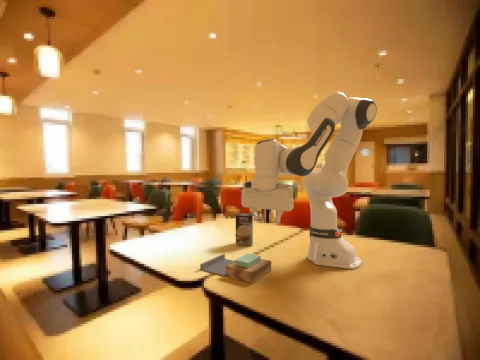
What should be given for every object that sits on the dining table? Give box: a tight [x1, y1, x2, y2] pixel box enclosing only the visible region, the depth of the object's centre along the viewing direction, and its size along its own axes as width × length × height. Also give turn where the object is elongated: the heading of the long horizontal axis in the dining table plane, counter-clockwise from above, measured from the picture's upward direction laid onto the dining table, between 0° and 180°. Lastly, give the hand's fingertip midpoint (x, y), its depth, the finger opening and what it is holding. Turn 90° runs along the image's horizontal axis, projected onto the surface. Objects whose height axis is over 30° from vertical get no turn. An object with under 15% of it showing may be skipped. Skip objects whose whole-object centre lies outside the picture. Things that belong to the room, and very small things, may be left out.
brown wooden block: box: [226, 258, 272, 284], centre depth 107 cm, size 12×14×4 cm
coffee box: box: [235, 212, 254, 247], centre depth 146 cm, size 9×6×16 cm
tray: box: [199, 253, 235, 277], centre depth 114 cm, size 12×15×2 cm
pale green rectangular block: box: [234, 253, 261, 268], centre depth 107 cm, size 6×9×2 cm, turn 146°
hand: (266, 221), depth 101 cm, fingers open, 7 cm apart
